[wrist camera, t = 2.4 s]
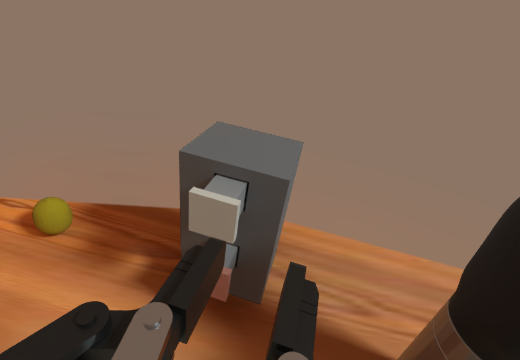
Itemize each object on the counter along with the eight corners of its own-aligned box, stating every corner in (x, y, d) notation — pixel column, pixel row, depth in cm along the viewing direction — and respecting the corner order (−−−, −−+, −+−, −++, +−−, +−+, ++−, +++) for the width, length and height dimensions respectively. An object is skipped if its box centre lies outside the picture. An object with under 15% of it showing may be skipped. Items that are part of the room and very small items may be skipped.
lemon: (35, 231, 49) (21, 196, 45) (70, 218, 53) (59, 185, 49) (46, 248, 46) (32, 213, 42) (81, 234, 50) (72, 199, 46)
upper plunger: (233, 244, 30) (237, 205, 27) (188, 230, 31) (188, 191, 28) (255, 200, 38) (261, 167, 35) (219, 190, 39) (221, 156, 36)
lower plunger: (225, 301, 36) (229, 275, 33) (188, 288, 37) (188, 262, 34) (246, 254, 44) (250, 229, 41) (214, 244, 44) (216, 219, 42)
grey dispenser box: (260, 304, 43) (290, 180, 31) (181, 277, 46) (179, 150, 33) (275, 252, 53) (303, 142, 41) (210, 231, 56) (217, 121, 43)
